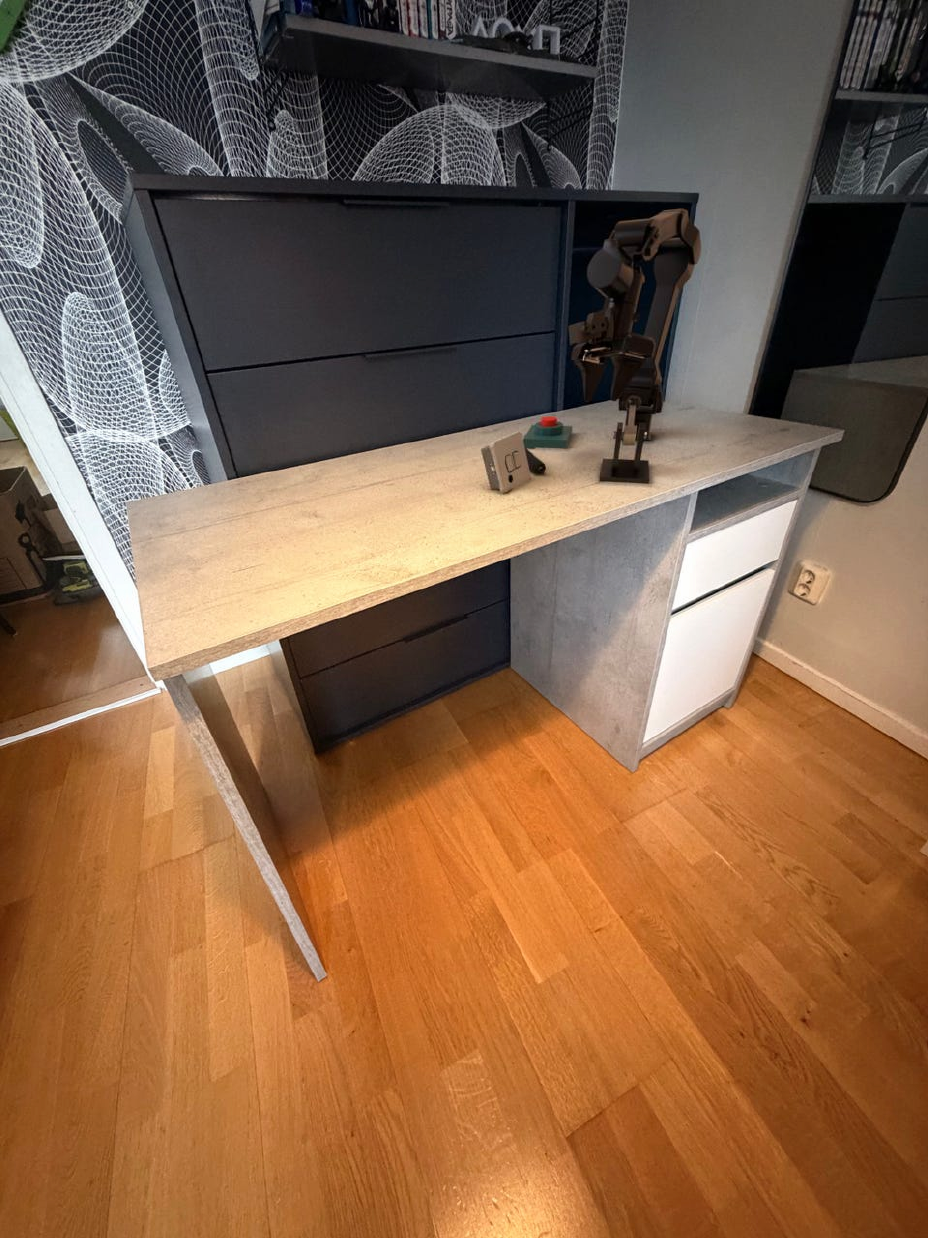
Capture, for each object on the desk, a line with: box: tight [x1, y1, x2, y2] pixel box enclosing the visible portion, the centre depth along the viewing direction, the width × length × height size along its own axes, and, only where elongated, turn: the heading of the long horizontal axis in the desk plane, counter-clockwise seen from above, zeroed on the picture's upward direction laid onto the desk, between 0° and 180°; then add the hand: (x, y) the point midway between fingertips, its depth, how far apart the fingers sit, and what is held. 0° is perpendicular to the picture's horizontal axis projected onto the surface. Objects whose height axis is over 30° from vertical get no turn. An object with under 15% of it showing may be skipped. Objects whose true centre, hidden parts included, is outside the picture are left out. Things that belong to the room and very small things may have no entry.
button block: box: [522, 420, 573, 450], centre depth 116 cm, size 12×10×4 cm
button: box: [540, 416, 558, 427], centre depth 114 cm, size 4×4×2 cm
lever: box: [622, 395, 641, 446], centre depth 96 cm, size 14×3×3 cm, turn 164°
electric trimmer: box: [524, 447, 547, 473], centre depth 103 cm, size 4×16×3 cm, turn 16°
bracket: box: [599, 421, 650, 485], centre depth 94 cm, size 11×9×9 cm
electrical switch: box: [480, 431, 531, 494], centre depth 94 cm, size 9×5×9 cm, turn 141°
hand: (599, 401), depth 93 cm, fingers open, 9 cm apart
